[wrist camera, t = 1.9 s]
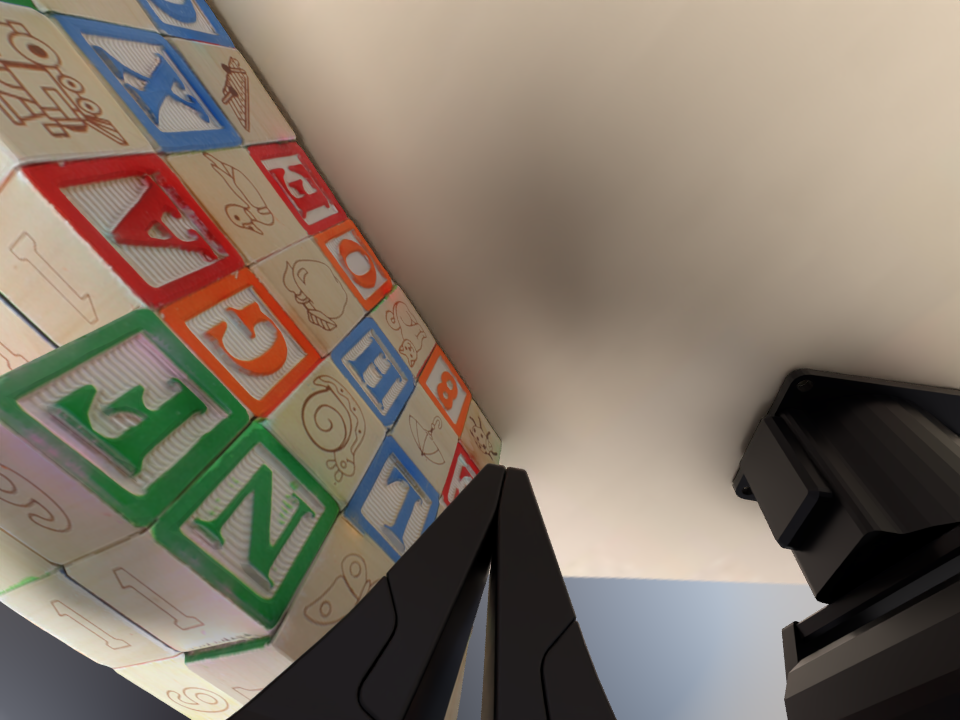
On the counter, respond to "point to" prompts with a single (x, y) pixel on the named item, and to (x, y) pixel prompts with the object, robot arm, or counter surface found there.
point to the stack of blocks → (196, 363)
